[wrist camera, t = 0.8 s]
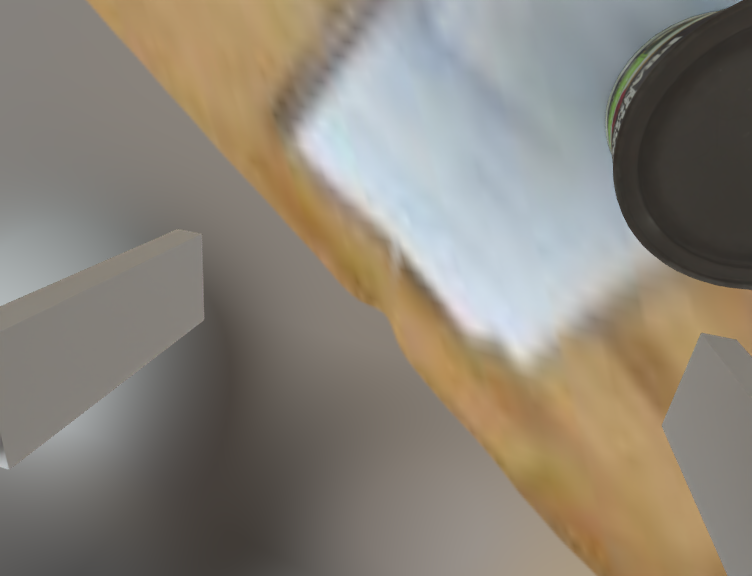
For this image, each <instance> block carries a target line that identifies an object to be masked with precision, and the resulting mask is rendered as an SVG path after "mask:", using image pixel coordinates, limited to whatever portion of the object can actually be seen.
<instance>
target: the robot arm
mask: <svg viewBox="0 0 752 576" xmlns="http://www.w3.org/2000/svg"><path fill="white" fill-rule="evenodd" d="M203 320H204V295H203V260H202V234H200V233H195V232H189V231H184V230H180V229H177V230H175V231H172V232H170V233H168V234H165V235H163V236H161V237H159V238H156V239H154V240H152V241H149V242H147V243H145V244H142V245H140V246H138V247H136V248H133V249H131V250H129V251H126V252H124V253H122V254H119V255H117V256H115V257H113V258H110V259H108V260H106V261H103V262H101V263H99V264H97V265H94V266H92V267H90V268H87V269H85V270H83V271H80V272H78V273H76V274H74V275H71V276H69V277H67V278H65V279H62V280H60V281H58V282H55V283H53V284H51V285H48V286H46V287H44V288H41V289H39V290H37V291H35V292H33V293H30V294H28V295H25V296H23V297H21V298H18V299H16V300H14V301H12V302H9V303H7V304H5V305H3V306H0V467H2V468H5V469H8V470H9V469H11V468H12V467H13V466H15V465H16V464H17V463H18V462H20V461H21V460H23V459H24V458H25V457H26V456H28V455H29V454H30V453H32V452H33V451H34V450H35V449H37V448H38V447H39V446H41V445H42V444H43V443H45V442H46V441H47V440H49V439H50V438H51V437H52V436H54V435H55V434H56V433H58V432H59V431H60V430H62V429H63V428H64V427H65V426H67V425H68V424H69V423H71V422H72V421H73V420H74V419H76V418H77V417H78V416H80V415H81V414H82V413H84V412H85V411H86V410H88V409H89V408H90V407H91V406H93V405H94V404H95V403H97V402H98V401H99V400H101V399H102V398H103V397H104V396H106V395H107V394H108V393H110V392H111V391H112V390H114V389H115V388H116V387H117V386H119V385H120V384H121V383H123V382H124V381H125V380H126V379H128V378H129V377H130V376H132V375H133V374H134V373H135V372H137V371H138V370H139V369H141V368H142V367H143V366H145V365H146V364H147V363H148V362H150V361H151V360H152V359H154V358H155V357H156V356H158V355H159V354H160V353H162V352H163V351H164V350H165V349H167V348H168V347H169V346H171V345H172V344H173V343H175V342H176V341H177V340H179V339H180V338H181V337H182V336H184V335H185V334H186V333H188V332H189V331H190V330H192V329H193V328H194V327H195V326H197V325H198V324H199V323H201V322H202V321H203ZM662 428H663V430H664V432H665V435H666V437H667V439H668V441H669V444H670V446H671V448H672V450H673V453H674V455H675V457H676V460H677V462H678V464H679V466H680V469H681V471H682V473H683V475H684V478H685V480H686V482H687V484H688V487H689V489H690V491H691V494H692V496H693V498H694V500H695V503H696V505H697V507H698V509H699V512H700V514H701V516H702V519H703V521H704V523H705V525H706V528H707V530H708V532H709V534H710V537H711V539H712V541H713V544H714V546H715V548H716V550H717V553H718V555H719V557H720V559H721V562H722V564H723V566H724V569H725V571H726V573H727V575H728V576H752V357H751V356H750V355H749V353H748V352H747V351H746V350H745V349H744V348H743V347H742V345H741V344H740V343H739V342H738V341H737V340H735V339H730V338H725V337H720V336H715V335H710V334H705V333H701V334H700V337H699V339H698V341H697V344H696V346H695V349H694V351H693V353H692V356H691V358H690V360H689V363H688V365H687V367H686V370H685V372H684V374H683V377H682V379H681V381H680V384H679V386H678V389H677V391H676V393H675V396H674V398H673V400H672V403H671V405H670V407H669V410H668V412H667V414H666V417H665V419H664V421H663V424H662Z"/></svg>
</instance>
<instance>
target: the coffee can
mask: <svg viewBox="0 0 752 576" xmlns="http://www.w3.org/2000/svg"><path fill="white" fill-rule="evenodd" d="M605 129H606V138H607V142H608V146H609V149H610V151H611V154H612V159H613V178H614V187H615V192H616V196H617V200H618V203H619V206H620V209H621V211H622V214H623V216H624V218H625V220H626V222H627V224H628V226H629V228H630V229H631V231H632V232H633V233H634V235H635V236H636V238H637V239H638V240H639V241H640V242H641V244H642V245H643V246H644V247H645V248H646V249H647V250H648V251H649V252H651V253H652V254H653V255H654V256H655V257H657V258H658V259H659V260H661V261H662V262H663V263H665V264H666V265H668V266H669V267H671V268H673V269H675V270H676V271H678V272H680V273H683V274H685V275H687V276H689V277H692V278H694V279H697V280H700V281H703V282H707V283H711V284H714V285H718V286H724V287H730V288H739V289H749V290H752V0H743V1H741V2H739V3H737V4H735V5H733V6H731V7H729V8H727V9H723V10H720V11H716V12H710V13H705V14H701V15H698V16H694V17H691V18H688V19H686V20H683V21H681V22H679V23H677V24H675V25H673V26H671V27H669V28H667V29H665V30H664V31H662V32H660V33H659V34H657V35H656V36H654V37H653V38H652V39H650V40H649V41H648V42H647V43H646V44H645V45H644V46H642V47H641V48H640V49H639V50H638V51H637V52H636V53H635V55H634V56H633V57H632V58H631V59H630V60H629V62H628V63H627V64H626V66H625V67H624V68H623V70H622V72H621V73H620V75H619V77H618V78H617V80H616V82H615V84H614V87H613V89H612V91H611V94H610V96H609V99H608V104H607V109H606V116H605Z"/></svg>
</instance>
